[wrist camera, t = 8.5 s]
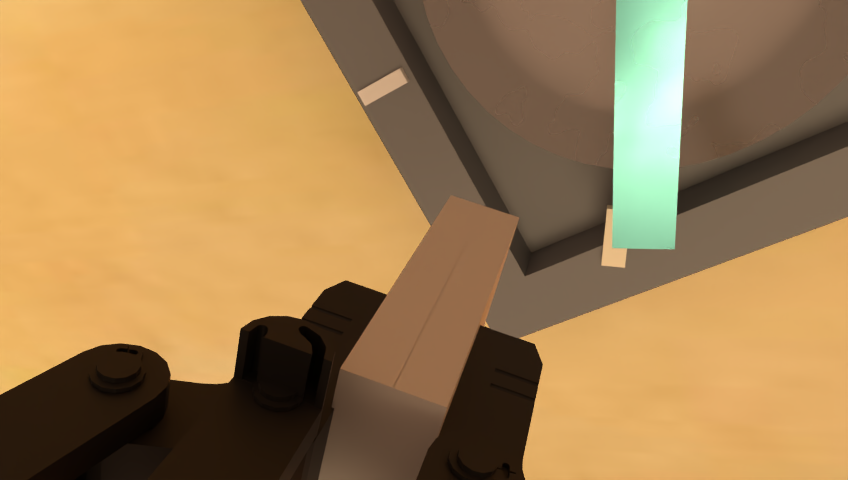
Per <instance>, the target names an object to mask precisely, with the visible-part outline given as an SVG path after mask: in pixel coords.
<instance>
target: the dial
mask: <svg viewBox="0 0 848 480" xmlns="http://www.w3.org/2000/svg"><path fill="white" fill-rule="evenodd" d="M423 4H424V8H425V12H426V15H427V18H428V21H429V23H430V26H431V28H432V31H433V33H434V36H435V38H436V41H437V43H438V45H439V47H440V49H441V50H442V52H443V54H444V56H445V58H446V59H447V61H448V63H449V65H450V67H451V68H452V70H453V71H454V73H455V74H456V75H457V77H458V78H459V79H460V81H461V82H462V83H463V85H464V86H465V88H466V89H467V90H468V92H469V93H470V94H471V95H472V96H473V97H474V98H475V99H476V100H477V101H478V102H479V103H480V104H481V105H482V106H483V107H484V108H485V109H486V110H487V112H489V113H490V114H491V115H492V116H494V117H495V118H496V119H497V120H498V121H500V122H501V123H502V124H503V125H505V126H506V127H507V128H508V129H510V130H511V131H513V132H514V133H516V134H518V135H519V136H521V137H523V138H524V139H526V140H527V141H529V142H531V143H532V144H534V145H536V146H539V147H541V148H543V149H545V150H547V151H550V152H552V153H554V154H556V155H559V156H562V157H565V158H568V159H571V160H575V161H578V162H581V163H584V164H589V165H595V166H600V167H606V168H612V169H613V225H612V248H627V249H675V234H676V215H677V195H678V176H679V167H682V166H688V165H693V164H699V163H703V162H706V161H710V160H713V159H716V158H719V157H723V156H726V155H729V154H732V153H734V152H737V151H739V150H741V149H744V148H746V147H748V146H750V145H753V144H755V143H757V142H760V141H762V140H763V139H765V138H767V137H769V136H770V135H772V134H774V133H775V132H777V131H779V130H781V129H782V128H784V127H786V126H788V125H789V124H791V123H792V122H793V121H795V120H796V119H798V118H799V117H800V116H802V115H803V114H804V113H806V112H807V111H808V110H810V109H811V108H812V107H814V106H815V105H816V104H818V103H819V102H820V101H821V100H822V99H823V98H824V97H825V96H826V95H827V94H828V93H829V92H831V91H832V90H833V89H834V88H835V87H836V86H837V85H838V84H839V83H840V82H841V81H842V80H843V79H844V78H845V77H846V76H847V75H848V0H423Z"/></svg>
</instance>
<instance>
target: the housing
mask: <svg viewBox="0 0 848 480" xmlns="http://www.w3.org/2000/svg"><path fill="white" fill-rule="evenodd" d="M301 2H302V4H303V5H304V7H305V9H306V11H307V12H308V14H309V16H310V18H311V19H312V21H313V23H314V24H315V26H316V28H317V30H318V31H319V33H320V35H321V37H322V38H323V40H324V42H325V43H326V45H327V47H328V49H329V50H330V52H331V54H332V56H333V57H334V59H335V61H336V63H337V64H338V66H339V68H340V69H341V71H342V73H343V75H344V76H345V78H346V80H347V82H348V83H349V85H350V87H351V88H352V90H353V92H354V94H355V95H356V97H357V99H358V101H359V102H360V104H361V106H362V108H363V109H364V111H365V113H366V114H367V116H368V118H369V120H370V121H371V123H372V125H373V127H374V128H375V130H376V132H377V133H378V135H379V137H380V139H381V140H382V142H383V144H384V146H385V147H386V149H387V151H388V153H389V154H390V156H391V158H392V159H393V161H394V163H395V165H396V166H397V168H398V170H399V172H400V173H401V175H402V177H403V178H404V180H405V182H406V184H407V185H408V187H409V189H410V191H411V192H412V194H413V196H414V198H415V199H416V201H417V203H418V204H419V206H420V208H421V210H422V211H423V213H424V215H425V217H426V218H427V220H428V222H429V223H430V225H431V226H432V224H433V222H434V221H435V219H436V218H437V216H438V215H439V213H440V211H441V210H442V208H443V207H444V205H445V204H446V202H447V201H448V199H449V197H450V196H451V195H452V196H455V197H458V198H461V199H464V200H467V201H470V202H473V203H476V204H479V205H483V206H486V207H489V208H492V209H495V210H498V211H501V212H504V213H507V214H510V215H513V216H516V217H519V220H518V223H517V226H516V230H515V233H514V236H513V239H512V242H511V245H510V248H509V251H508V254H507V257H506V260H505V263H504V266H503V269H502V272H501V275H500V278H499V282H498V285H497V288H496V291H495V294H494V297H493V300H492V303H491V306H490V309H489V312H488V315H487V318H486V322H487V324H488V326H489V327H490V329H493V330H496V331H498V332H501V333H504V334H507V335H510V336H513V337H516V338H520V337H523V336H526V335H528V334H531V333H534V332H536V331H539V330H542V329H545V328H547V327H550V326H553V325H555V324H558V323H561V322H564V321H566V320H569V319H572V318H574V317H577V316H580V315H583V314H585V313H588V312H591V311H593V310H596V309H599V308H602V307H604V306H607V305H610V304H612V303H615V302H618V301H621V300H623V299H626V298H629V297H631V296H634V295H637V294H640V293H642V292H645V291H648V290H650V289H653V288H656V287H659V286H661V285H664V284H667V283H669V282H672V281H675V280H678V279H680V278H683V277H686V276H688V275H691V274H694V273H697V272H699V271H702V270H705V269H707V268H710V267H713V266H716V265H718V264H721V263H724V262H726V261H729V260H732V259H735V258H737V257H740V256H743V255H745V254H748V253H751V252H754V251H756V250H759V249H762V248H764V247H767V246H770V245H773V244H775V243H778V242H781V241H783V240H786V239H789V238H792V237H794V236H797V235H800V234H802V233H805V232H808V231H811V230H813V229H816V228H819V227H821V226H824V225H827V224H830V223H832V222H835V221H838V220H840V219H843V218H846V217H848V75H847V76H846V77H845V78H844V79H843V80H842V81H841V82H840V83H839V84H838V85H837V86H836V87H835V88H834V89H833V90H832V91H831V92H829V93H828V94H827V95H826V96H825V97H824V98H823V99H822V100H821V101H820V102H819V103H818V104H816V105H815V106H814V107H812V108H811V109H810V110H808V111H807V112H806V113H804V114H803V115H802V116H800V117H799V118H798V119H796V120H795V121H793V122H792V123H791V124H789V125H788V126H786V127H784V128H782V129H781V130H779V131H777V132H775V133H774V134H772V135H770V136H769V137H767V138H765V139H763V140H762V141H760V142H757V143H755V144H753V145H750V146H748V147H746V148H744V149H741V150H739V151H737V152H734V153H732V154H729V155H726V156H723V157H719V158H716V159H713V160H710V161H706V162H703V163H699V164H693V165H688V166H682V167H679V176H678V195H677V215H676V234H675V249H627V248H612V225H613V169H612V168H606V167H600V166H595V165H589V164H584V163H581V162H578V161H575V160H571V159H568V158H565V157H562V156H559V155H556V154H554V153H552V152H550V151H547V150H545V149H543V148H541V147H539V146H536V145H534V144H532V143H531V142H529V141H527V140H526V139H524V138H523V137H521V136H519V135H518V134H516V133H514V132H513V131H511V130H510V129H508V128H507V127H506V126H505V125H503V124H502V123H501V122H500V121H498V120H497V119H496V118H495V117H494V116H492V115H491V114H490V113H489V112H487V110H486V109H485V108H484V107H483V106H482V105H481V104H480V103H479V102H478V101H477V100H476V99H475V98H474V97H473V96H472V95H471V94H470V93H469V92H468V90H467V89H466V88H465V86H464V85H463V83H462V82H461V81H460V79H459V78H458V77H457V75H456V74H455V73H454V71H453V70H452V68H451V67H450V65H449V63H448V61H447V59H446V58H445V56H444V54H443V52H442V50H441V49H440V47H439V45H438V43H437V41H436V38H435V36H434V33H433V31H432V28H431V26H430V23H429V21H428V18H427V15H426V12H425V8H424V4H423V0H301Z"/></svg>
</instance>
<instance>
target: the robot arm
mask: <svg viewBox="0 0 848 480" xmlns="http://www.w3.org/2000/svg"><path fill="white" fill-rule="evenodd" d="M518 220H519V217H516V216H513V215H510V214H507V213H504V212H501V211H498V210H495V209H492V208H489V207H486V206H483V205H479V204H476V203H473V202H470V201H467V200H464V199H461V198H458V197H455V196H452V195H451V196H450V197H449V199H448V201H447V202H446V204H445V205H444V207H443V208H442V210H441V211H440V213H439V215H438V216H437V218H436V219H435V221H434V222H433V224H432V226H431V227H430V229H429V230H428V232H427V233H426V235H425V237H424V238H423V240H422V241H421V243H420V244H419V246H418V247H417V249H416V251H415V252H414V254H413V255H412V257H411V258H410V260H409V262H408V263H407V265H406V266H405V268H404V269H403V271H402V273H401V274H400V276H399V277H398V279H397V280H396V282H395V283H394V285H393V287H392V288H391V290H390V291H389V293H388V294H387V295H386V294H383V293H381V292H378V291H375V290H372V289H369V288H366V287H363V286H360V285H358V284H355V283H352V282H349V281H343V282H341V283H339V284H337V285H334V286H332V287H330V288H328V289H325V290H324V291H323V292H322V294H321V295H320V296H319V297H318V299H317V300H316V301H315V302H314V304H313V305H312V307H311V308H309V310H308V311H307V312H306V313H305V315H304V316H303V317H302V319H298V318H293V317H289V316H268V317H264V318H260V319H257V320H253V321H251V322H250V323H248V324H247V325H245V326H244V327H242V328H241V330H240V337H239V344H238V351H237V358H236V365H235V372H234V377H233V378H232V379H231V381H230V382H229V383H224V384H201V383H193V382H185V381H176V380H170V376H171V374H170V371H169V367H168V364H167V362H166V361H165V360H164V359H163V358H162V357H161V356H159V355H158V354H157V353H156V352H154V351H151V350H149V349H146V348H144V347H142V346H137V345H129V344H111V345H101V346H98V347H95V348H93V349H90V350H87V351H84V352H82V353H80V354H78V355H76V356H74V357H72V358H70V359H68V360H66V361H65V362H63V363H61V364H59V365H57V366H55V367H53V368H51V369H49V370H47V371H45V372H43V373H42V374H40V375H38V376H36V377H34V378H32V379H30V380H28V381H26V382H24V383H22V384H20V385H18V386H17V387H15V388H13V389H11V390H9V391H7V392H5V393H3V394H1V395H0V480H525V478H524V474H523V470H522V463H523V455H524V451H525V446H526V441H527V436H528V432H529V427H530V422H531V417H532V413H533V408H534V402H535V398H536V394H537V389H538V384H539V379H540V375H541V370H542V365H543V364H542V362H541V359H540V357H539V354H538V351H537V349H536V346H535V344H533V343H530V342H527V341H524V340H521V339H519V338H516V337H513V336H510V335H507V334H504V333H501V332H498V331H496V330H493V329H490V328H487V327H484V324H485V321H486V318H487V315H488V312H489V309H490V306H491V303H492V300H493V297H494V294H495V291H496V288H497V285H498V282H499V278H500V275H501V272H502V269H503V266H504V263H505V260H506V257H507V254H508V251H509V248H510V245H511V242H512V239H513V236H514V233H515V230H516V226H517V223H518Z"/></svg>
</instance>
